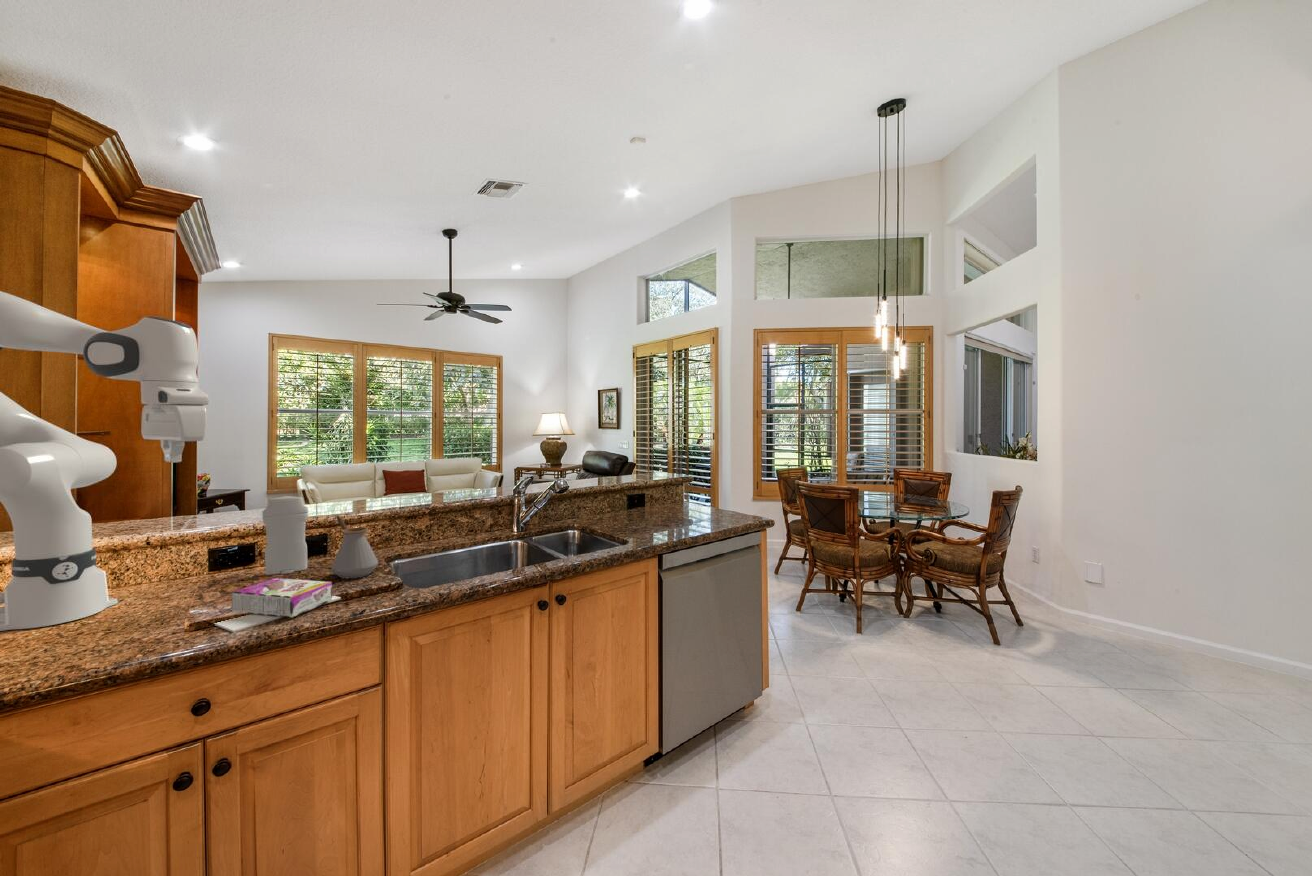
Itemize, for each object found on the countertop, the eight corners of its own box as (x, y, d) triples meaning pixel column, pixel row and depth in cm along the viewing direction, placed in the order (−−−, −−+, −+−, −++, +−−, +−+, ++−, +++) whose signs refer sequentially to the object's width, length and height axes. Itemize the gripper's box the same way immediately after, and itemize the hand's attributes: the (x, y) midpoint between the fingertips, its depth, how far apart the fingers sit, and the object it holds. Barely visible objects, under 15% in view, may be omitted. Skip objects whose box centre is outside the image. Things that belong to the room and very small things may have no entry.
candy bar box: (275, 576, 124) (333, 580, 121) (275, 596, 125) (333, 601, 122) (229, 590, 114) (291, 596, 110) (230, 612, 114) (291, 619, 111)
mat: (203, 620, 110) (203, 618, 110) (310, 590, 130) (310, 589, 130) (233, 632, 104) (233, 630, 104) (340, 599, 124) (340, 597, 124)
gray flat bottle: (308, 566, 151) (306, 493, 150) (309, 569, 148) (308, 495, 147) (263, 573, 144) (261, 497, 143) (264, 577, 141) (262, 498, 140)
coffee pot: (384, 574, 144) (383, 522, 143) (338, 583, 135) (337, 528, 135) (358, 560, 158) (358, 512, 158) (316, 567, 150) (315, 517, 149)
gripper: (129, 396, 107) (132, 461, 108) (173, 394, 98) (175, 465, 99) (168, 397, 113) (170, 459, 114) (213, 396, 104) (215, 463, 104)
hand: (173, 462), depth 106 cm, fingers closed
